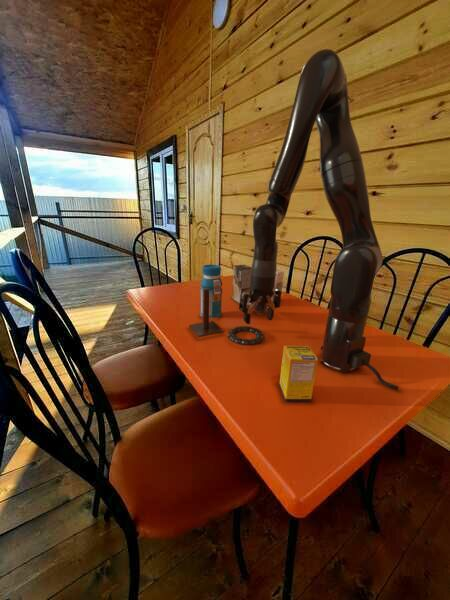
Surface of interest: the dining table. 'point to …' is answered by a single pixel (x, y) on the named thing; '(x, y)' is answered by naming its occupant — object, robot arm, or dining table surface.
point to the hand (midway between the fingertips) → (258, 321)
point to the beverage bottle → (212, 289)
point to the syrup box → (278, 281)
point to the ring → (250, 342)
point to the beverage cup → (261, 308)
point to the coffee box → (241, 281)
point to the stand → (205, 319)
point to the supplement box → (298, 373)
